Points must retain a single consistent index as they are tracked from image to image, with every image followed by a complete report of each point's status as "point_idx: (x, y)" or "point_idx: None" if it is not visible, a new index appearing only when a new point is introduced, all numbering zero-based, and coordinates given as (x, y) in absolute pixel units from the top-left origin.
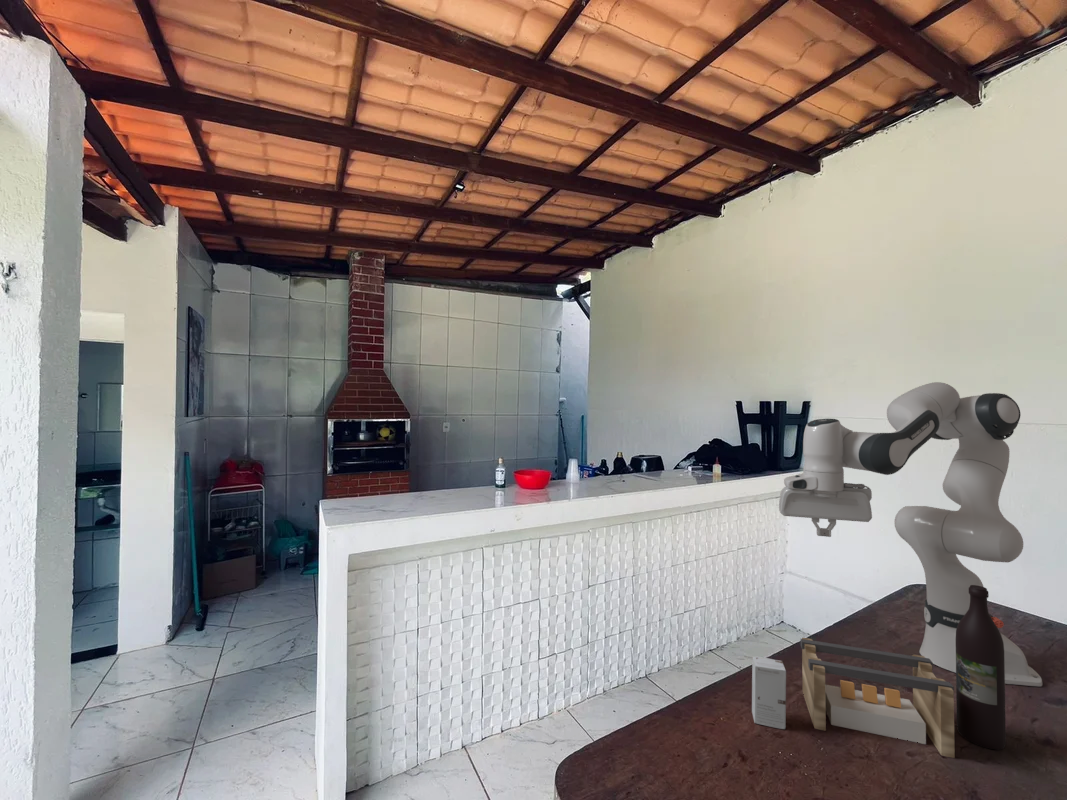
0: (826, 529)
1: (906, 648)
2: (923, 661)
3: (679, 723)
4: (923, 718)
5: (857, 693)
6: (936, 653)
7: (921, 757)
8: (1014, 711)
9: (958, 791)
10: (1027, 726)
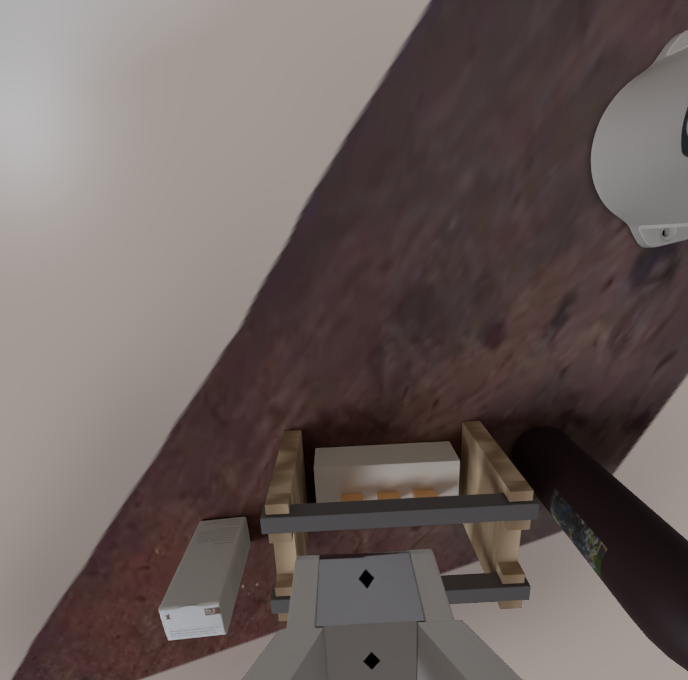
0: (401, 673)
1: (572, 111)
2: (519, 519)
3: (100, 584)
4: (466, 470)
5: (372, 476)
6: (625, 187)
7: (429, 527)
8: (649, 344)
9: (448, 571)
10: (638, 387)
